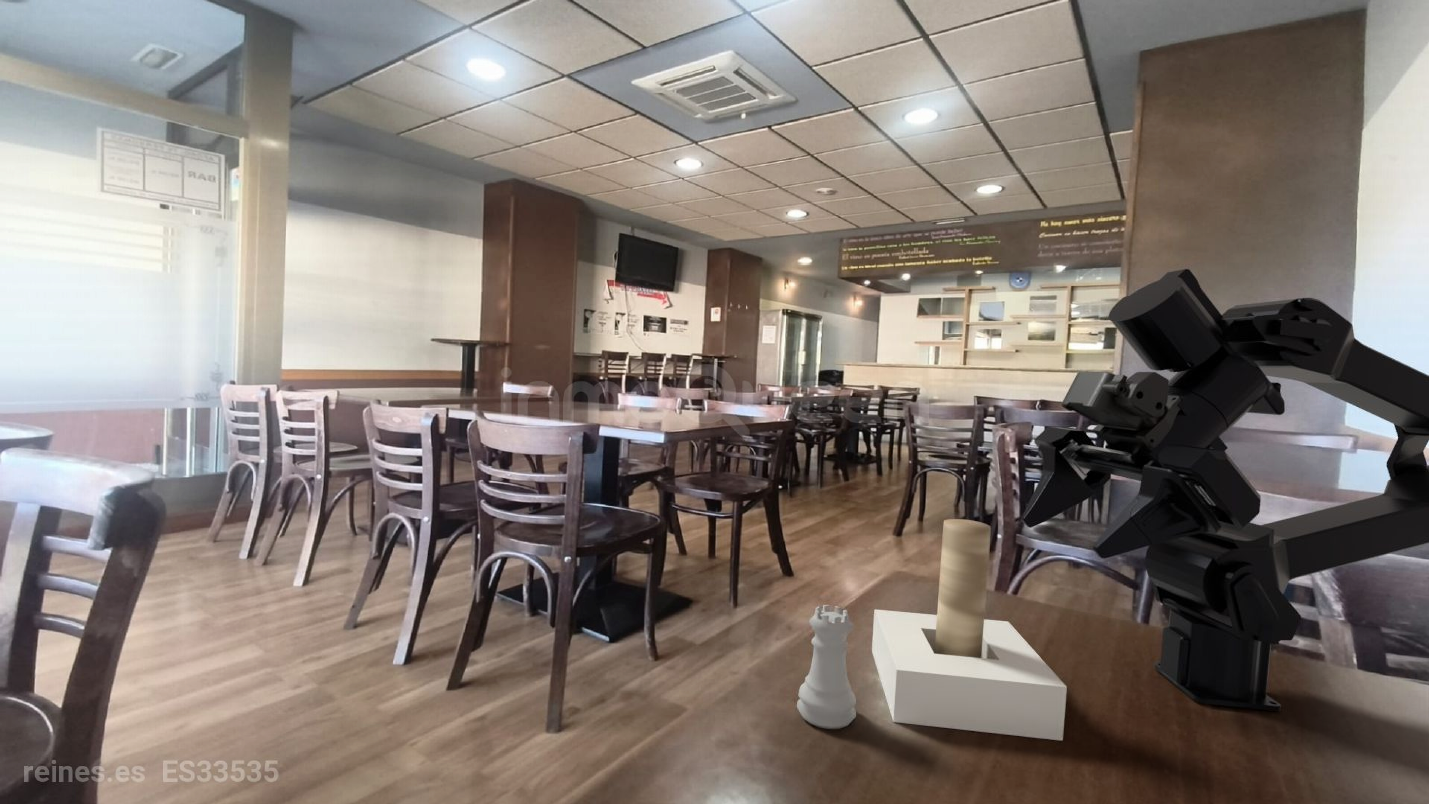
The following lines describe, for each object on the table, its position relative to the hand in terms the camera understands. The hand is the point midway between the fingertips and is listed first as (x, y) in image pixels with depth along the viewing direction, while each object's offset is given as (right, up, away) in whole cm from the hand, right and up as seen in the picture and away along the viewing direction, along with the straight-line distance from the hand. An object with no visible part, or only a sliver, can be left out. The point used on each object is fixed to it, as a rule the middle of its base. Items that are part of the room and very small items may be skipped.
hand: (1058, 537), depth 52 cm
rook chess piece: (-20, -13, -5) cm, 24 cm away
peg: (-9, -12, 0) cm, 14 cm away
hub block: (-9, -13, 0) cm, 15 cm away
